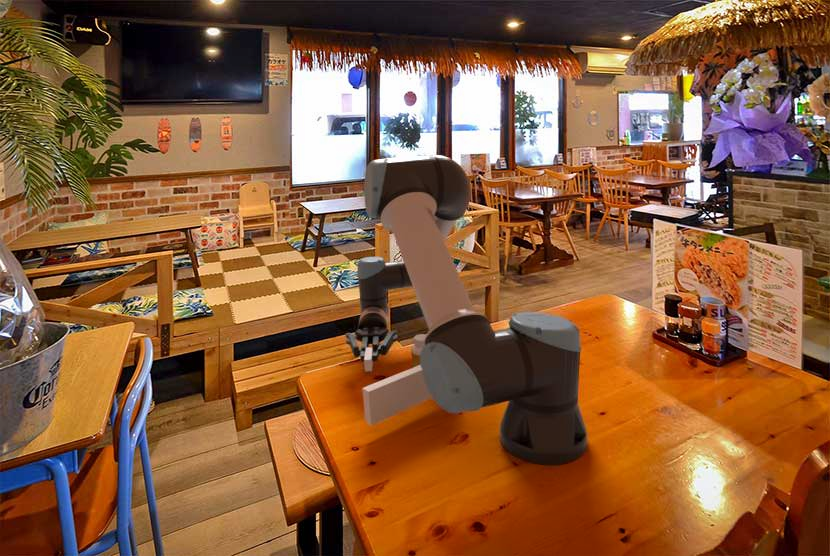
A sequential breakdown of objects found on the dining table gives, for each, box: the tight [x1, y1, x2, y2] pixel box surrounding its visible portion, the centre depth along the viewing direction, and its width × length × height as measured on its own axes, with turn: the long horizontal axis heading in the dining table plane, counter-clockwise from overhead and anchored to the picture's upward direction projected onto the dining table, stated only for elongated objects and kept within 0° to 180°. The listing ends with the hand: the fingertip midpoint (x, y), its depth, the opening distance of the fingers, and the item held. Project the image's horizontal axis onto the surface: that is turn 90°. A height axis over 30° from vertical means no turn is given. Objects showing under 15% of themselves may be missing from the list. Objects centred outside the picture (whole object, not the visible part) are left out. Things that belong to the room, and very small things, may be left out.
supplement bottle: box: [410, 333, 427, 368], centre depth 115 cm, size 5×5×10 cm
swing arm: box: [361, 365, 433, 427], centre depth 98 cm, size 20×2×7 cm, turn 128°
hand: (368, 365), depth 106 cm, fingers closed
